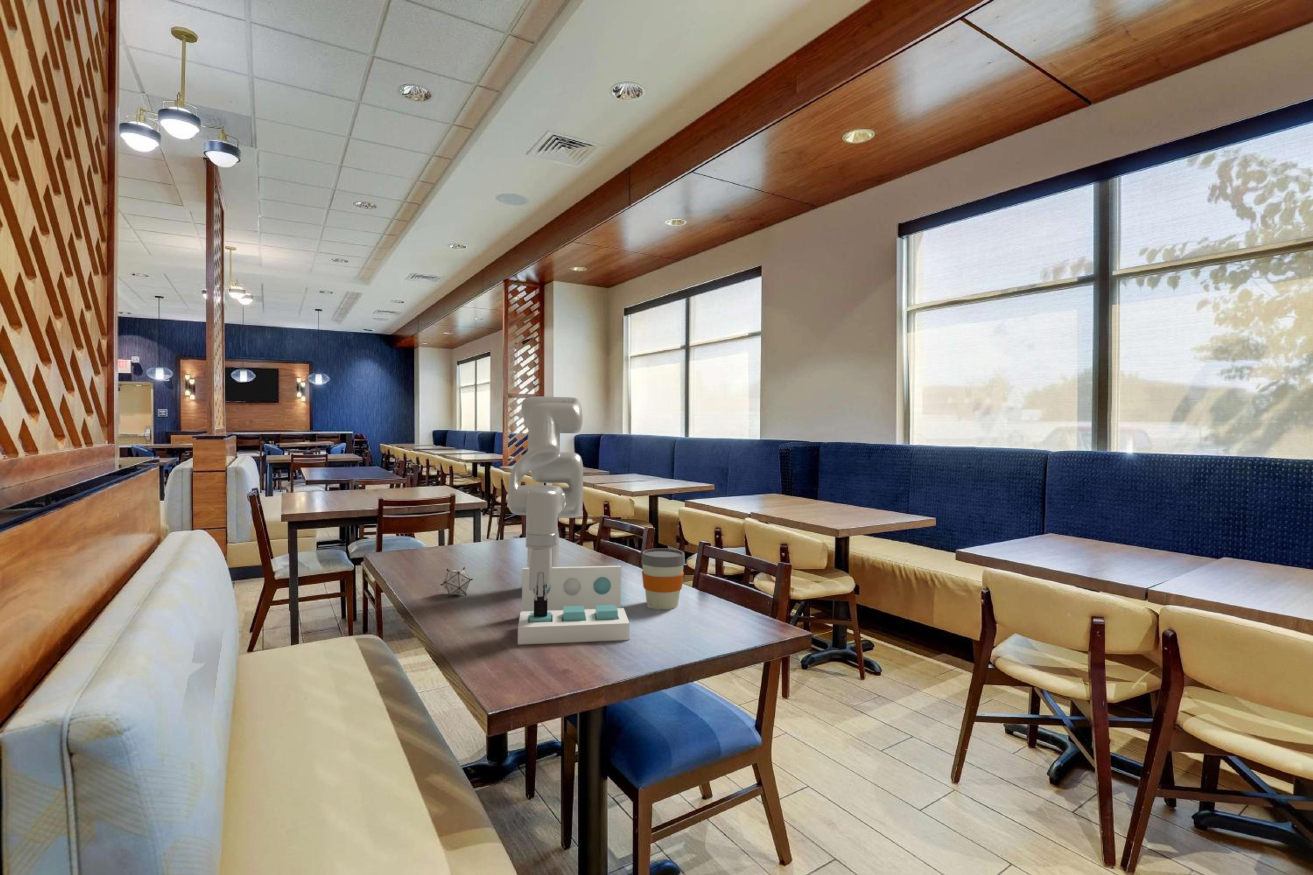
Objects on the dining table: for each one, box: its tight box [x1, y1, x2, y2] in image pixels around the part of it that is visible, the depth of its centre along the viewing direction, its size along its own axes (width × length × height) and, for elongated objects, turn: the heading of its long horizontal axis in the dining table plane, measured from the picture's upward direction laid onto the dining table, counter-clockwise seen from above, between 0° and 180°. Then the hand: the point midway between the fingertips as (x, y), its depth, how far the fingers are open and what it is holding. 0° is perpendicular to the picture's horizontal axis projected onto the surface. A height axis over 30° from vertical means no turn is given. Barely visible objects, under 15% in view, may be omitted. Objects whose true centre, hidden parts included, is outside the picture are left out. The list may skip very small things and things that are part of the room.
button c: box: [595, 605, 618, 620], centre depth 150 cm, size 5×5×3 cm
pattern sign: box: [521, 565, 622, 612], centre depth 162 cm, size 6×26×13 cm, turn 100°
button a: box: [530, 612, 551, 623], centre depth 147 cm, size 5×5×3 cm
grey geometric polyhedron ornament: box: [440, 566, 474, 598], centre depth 179 cm, size 9×8×10 cm
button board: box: [517, 607, 631, 646], centre depth 148 cm, size 12×26×4 cm, turn 100°
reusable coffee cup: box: [640, 548, 686, 610], centre depth 173 cm, size 13×12×15 cm
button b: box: [563, 606, 585, 621], centre depth 148 cm, size 5×5×3 cm
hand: (540, 615), depth 147 cm, fingers closed
